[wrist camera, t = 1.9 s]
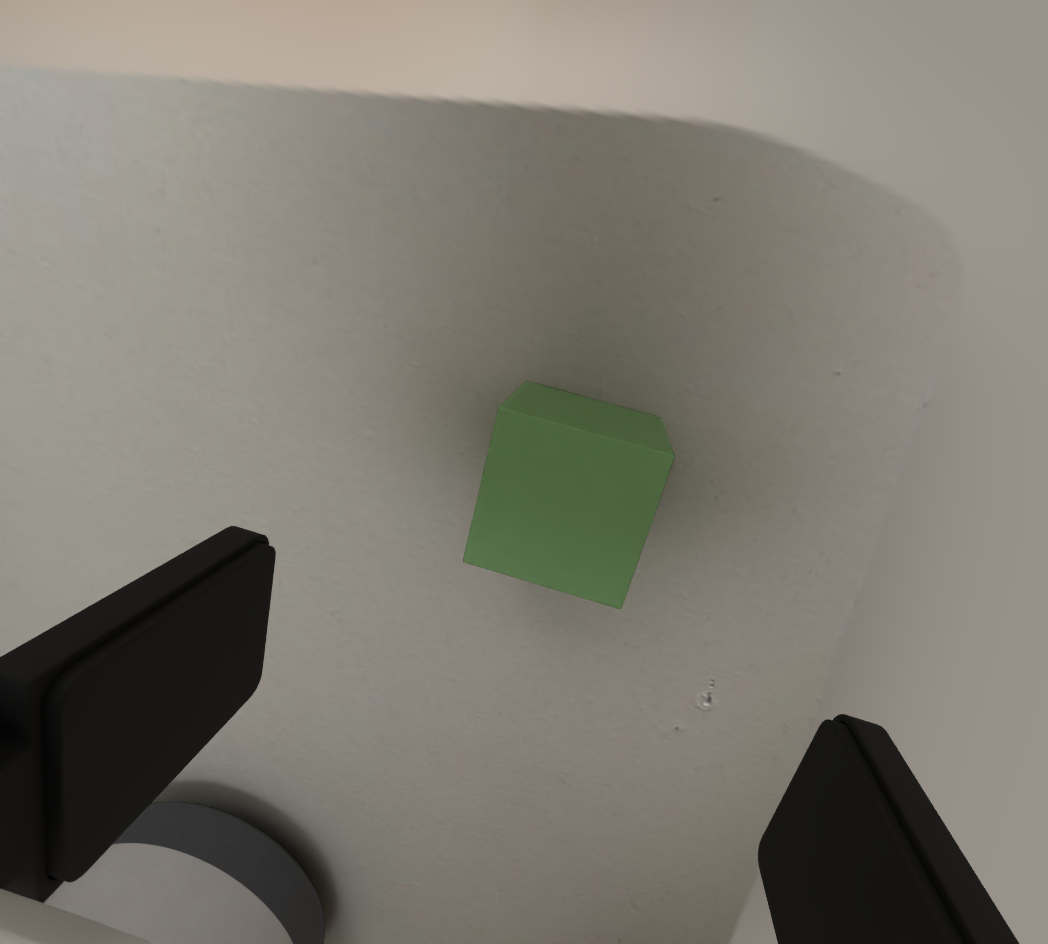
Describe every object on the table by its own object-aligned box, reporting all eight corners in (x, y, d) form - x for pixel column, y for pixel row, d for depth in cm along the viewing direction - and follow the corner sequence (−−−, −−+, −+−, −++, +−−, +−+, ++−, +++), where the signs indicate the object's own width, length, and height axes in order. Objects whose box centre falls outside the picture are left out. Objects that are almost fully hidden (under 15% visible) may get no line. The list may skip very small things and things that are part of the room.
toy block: (526, 380, 20) (498, 406, 16) (662, 417, 20) (675, 455, 15) (495, 504, 22) (462, 562, 17) (620, 541, 22) (621, 610, 17)
